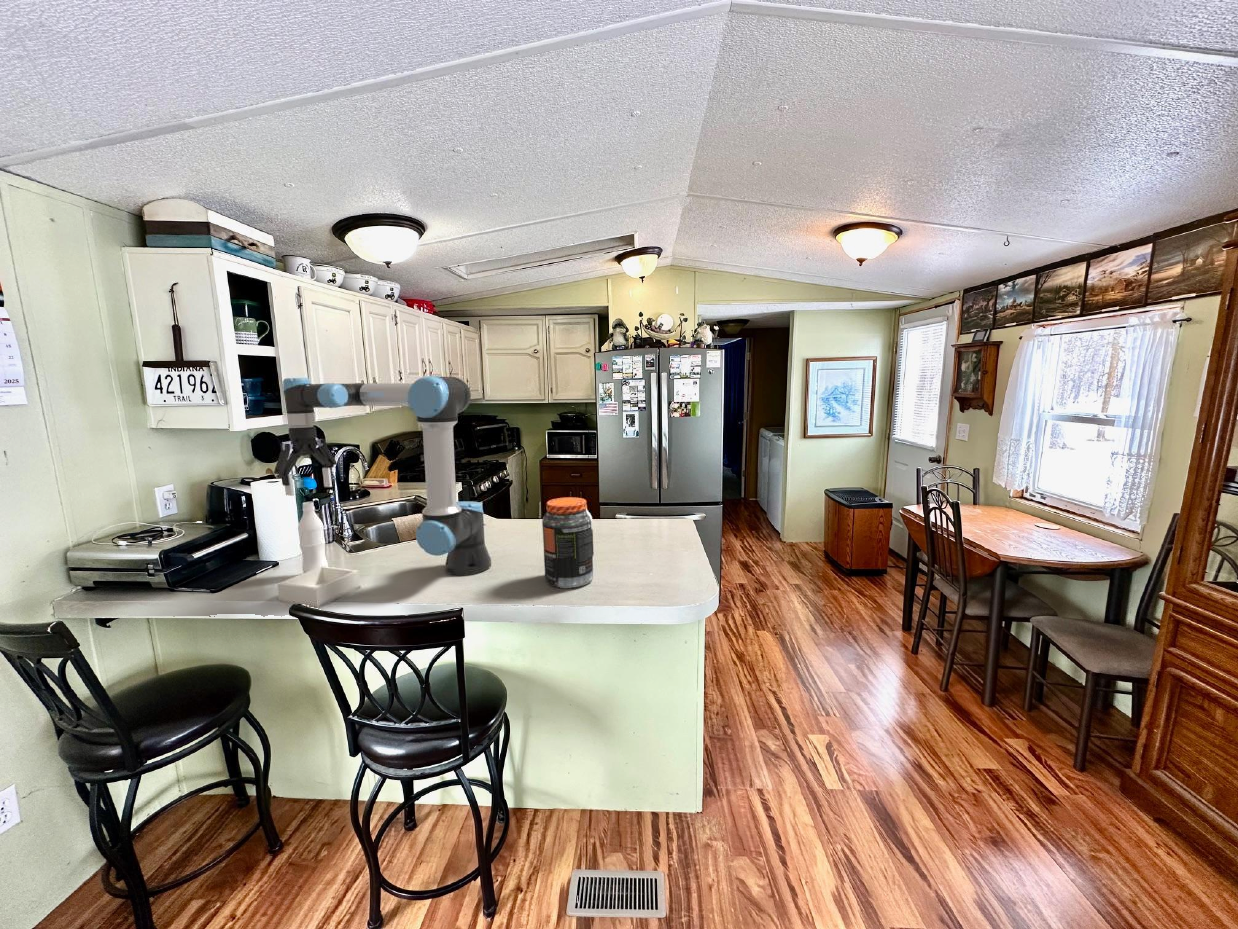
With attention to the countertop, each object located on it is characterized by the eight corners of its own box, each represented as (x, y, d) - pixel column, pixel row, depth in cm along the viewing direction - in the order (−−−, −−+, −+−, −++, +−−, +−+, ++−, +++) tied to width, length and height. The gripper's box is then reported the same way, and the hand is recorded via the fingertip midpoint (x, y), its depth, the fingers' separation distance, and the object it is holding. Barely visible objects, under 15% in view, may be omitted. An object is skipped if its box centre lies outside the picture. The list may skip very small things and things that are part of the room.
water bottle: (310, 572, 170) (302, 500, 166) (332, 571, 171) (324, 499, 167) (299, 580, 163) (290, 505, 159) (322, 579, 164) (313, 505, 160)
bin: (360, 587, 157) (358, 570, 156) (318, 608, 143) (315, 589, 142) (324, 582, 161) (322, 565, 160) (279, 601, 147) (277, 583, 146)
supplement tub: (601, 574, 165) (599, 497, 160) (582, 592, 150) (580, 509, 146) (558, 568, 170) (555, 494, 166) (535, 586, 155) (532, 505, 151)
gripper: (327, 423, 174) (334, 482, 177) (254, 429, 151) (263, 498, 154) (343, 423, 171) (350, 484, 175) (271, 430, 148) (280, 499, 152)
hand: (309, 490), depth 165 cm, fingers open, 13 cm apart
